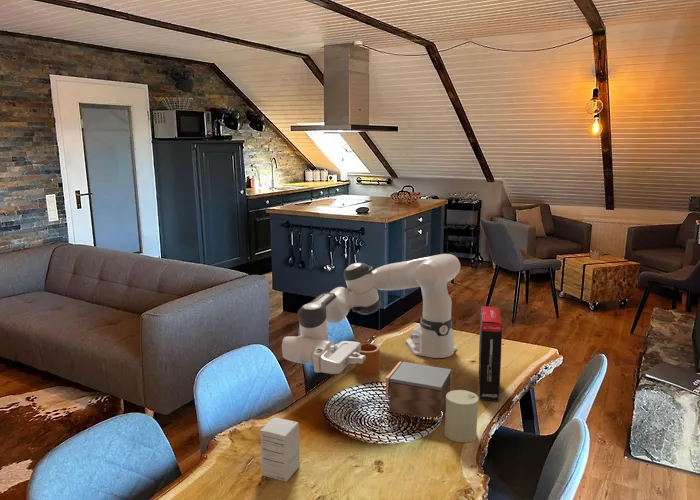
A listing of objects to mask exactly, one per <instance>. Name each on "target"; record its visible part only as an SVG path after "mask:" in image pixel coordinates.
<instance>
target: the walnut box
mask: <svg viewBox="0 0 700 500" xmlns="http://www.w3.org/2000/svg"><path fill="white" fill-rule="evenodd" d="M451 381H452V373H451V374H450V376H449V377H448V379H447V381H446V383H445V384H444V386H443V388H442V390H435V389H429V388H424V387H418V386H412V385H407V384H401V383H395V382H390V388H389V397H388V399H389V401H388V412H389V411H390V412H393V413H392V414H394V413H398V414H397V415H399V414H403V415H402V416H404V415H409V416H417V417H435V416H438V415H440V414H441V411H442V412H443V414H444V415H445V414H446V394H447V393H448V392H450V391H451V385H452V384H451V383H452V382H451ZM409 416H408V417H409Z"/></svg>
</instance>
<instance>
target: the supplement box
mask: <svg viewBox="0 0 700 500" xmlns="http://www.w3.org/2000/svg"><path fill="white" fill-rule="evenodd" d="M299 425H300V424H299V422H297V421H294V420H289V419H286V418H284V419H283V418H280V417H272V418H271V420H270V421H268V423H266V424H265V425H264V426H263V427H262V428H261V429H260V431H259V432H260V433H259V434H260V438H259V439H260V458H261V459H260V460H261V475H262V476H264V477H267V478H270V479H275V480H278V481H282V482H288V481H289V480H290V478H291V477H293V475H294V473H295V472H296V471H297V470H298V469H299V468H300V467H301V466H300V465H301V464H300V463H301V461H300V457H301V456H300V426H299Z"/></svg>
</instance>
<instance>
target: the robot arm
mask: <svg viewBox="0 0 700 500" xmlns="http://www.w3.org/2000/svg"><path fill="white" fill-rule="evenodd" d="M460 271H461V262H460V260H459V258H458V257H457V256H455V255H453V254H452V253H440V254H435V255H431V256H426V257H419V258H416V259H411V260H406V261H400V262H398V261H397V262H394V263H388V264H384V265H381V266H378V267H376V268H375V269H374V267H373V266H372V265H368V264H366V263H364V262H355V263H352V264H349V265H348V266H347V267H345V268H344V271H343V278H344V281H345V283H346V287H344V286H338V287H335V288H333V289H332V290H331V291H329V292H324V293H321V294H319V295H318V296H316V297H315V298H314V299H313V300H311V301H310V302H308V303H306V304H303V305H302V306H301V307H300V308H299V309H298V311H297V318H298V322H299V323H298V325H299V332H300V335H298V336H289V335H288V336H284V337H283V339H282V341H281V345H280V348H281V355H282V357H283V359H285V360H287V361H288V362H289V361H290V362H292V363H297V364H304V365H306V364H309V365H312V366H313V372H314V373H325V374H329V375H330V374H331V375H337V374H341V372H343V370H344V369H345V368H346V367H347V366H348V365H355V364H356V363H360V364H362V363H363V362H364V361H365V360H366V356H365V355H361V354H359V353H360V352H361V344H362V343H360V342H359V341H354V340H341V341H339V342H338V343H334V341H332V340H329V331H328V323H329V324H339V323H340V322H342V321H344V320H345V319H346V317H347V316H348V314H349V312H350V310H351V311H352V312H354V313H358V314H360V315H363V316H364V315H366V316H368V315H371V314H373V313H376V312H378V311H379V309H380V308H381V298H380V297H379V292H378V290H380V291H399V290H406V289H407V290H408V289H413V288H414V289H415V288H418V287H420V289H421V295H422V315H419V316H420V317H419V319H420V322H419V324H418V325H417V326H416V327H414V328H413V329H412V331H411V334H410V337H409V338H407V339H406V340H405V343H406V345H407V346H408V347H409V349H410V351H411V352H412V354H414V355H415V356H423V357H426V358H431V359H432V358H433V359H442V358H443V359H444V358H449V357H451V356H453V354H454V353H455V351H456V350H457V349H458V348H457V346H456V345H455V332H454V330H453V328H452V326H453V319H452V298H451V296H449V291H448V282H450V281H452V280H453V279H454V278H456V276H457V275H458V274H459V273H460Z"/></svg>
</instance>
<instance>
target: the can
mask: <svg viewBox="0 0 700 500" xmlns="http://www.w3.org/2000/svg"><path fill="white" fill-rule="evenodd" d="M479 400H480V399H479V395H477V394H476V393H474V392H472V391H470V390H466V389H456V390H455V389H454V390H450V392H448V393H447V394H446V411H445V421H444V423H445V424H444V431H443V433H444V436H445V437H446V438H447V439H449V440H451V441H454V442H457V443H470V442H474V441H475V440H476V439H477V437H478V432H477V430H478V429H477V428H478V424H477V423H478V409H479Z"/></svg>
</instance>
